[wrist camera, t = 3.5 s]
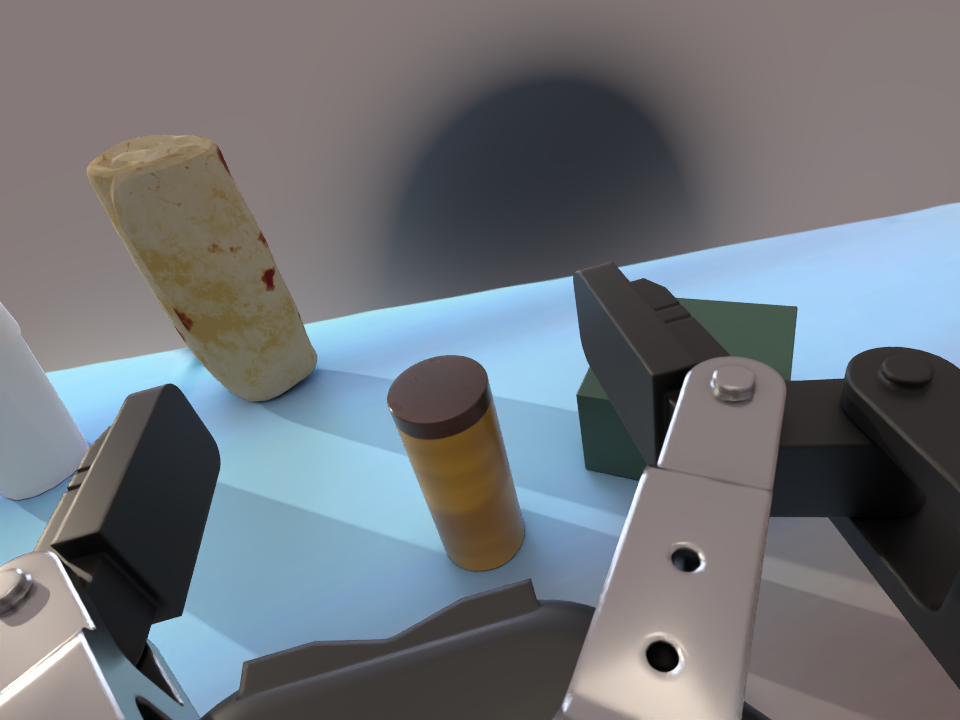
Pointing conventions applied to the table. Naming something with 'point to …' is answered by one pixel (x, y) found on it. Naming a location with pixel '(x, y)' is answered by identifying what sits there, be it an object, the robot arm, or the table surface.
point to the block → (734, 328)
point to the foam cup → (32, 422)
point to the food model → (205, 260)
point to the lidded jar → (459, 458)
